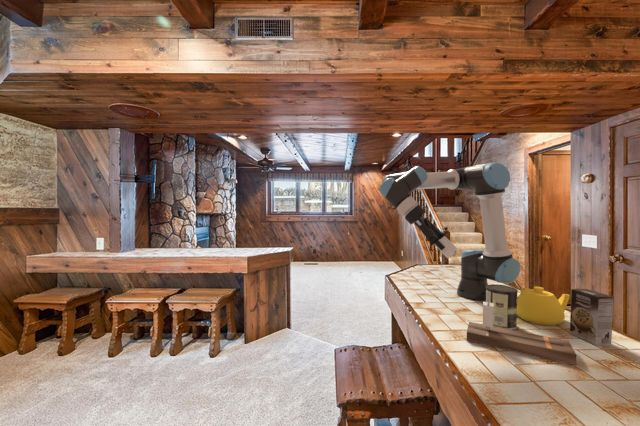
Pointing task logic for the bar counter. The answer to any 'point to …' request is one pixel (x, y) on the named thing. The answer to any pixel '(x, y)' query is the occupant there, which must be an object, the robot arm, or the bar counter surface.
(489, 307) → the fader
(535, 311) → the teapot
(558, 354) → the brown slab
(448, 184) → the robot arm
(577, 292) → the cookie box
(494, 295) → the coffee can
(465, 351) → the bar counter surface
